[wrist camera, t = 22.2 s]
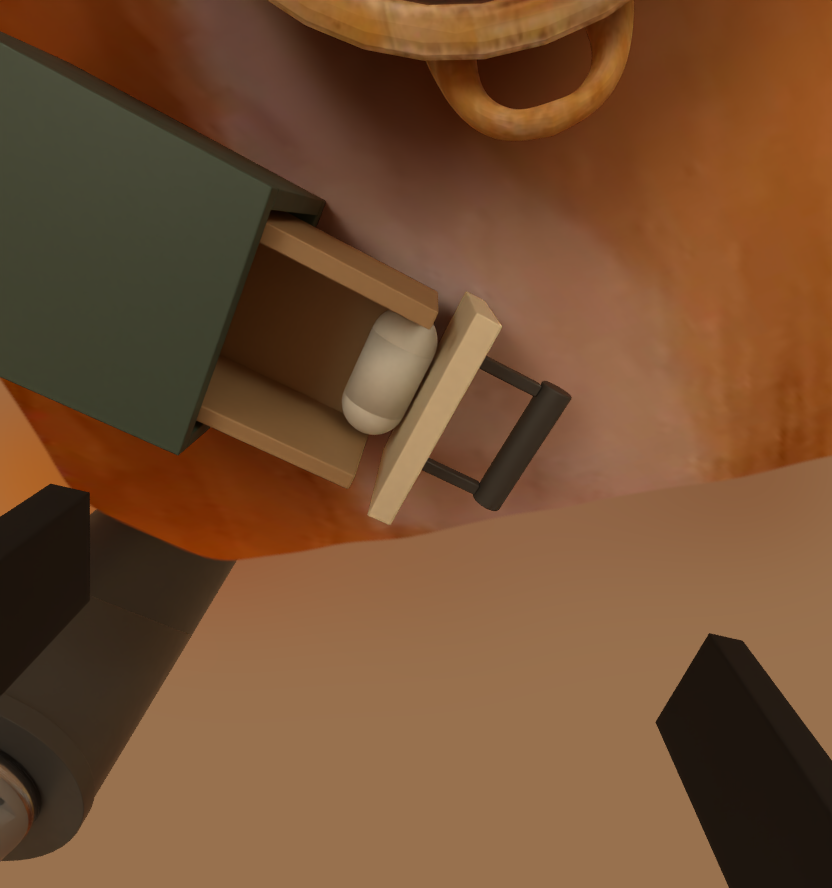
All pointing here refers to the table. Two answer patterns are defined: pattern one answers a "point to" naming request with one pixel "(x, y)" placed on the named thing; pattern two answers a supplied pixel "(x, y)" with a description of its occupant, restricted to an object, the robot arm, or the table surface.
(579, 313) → the table surface
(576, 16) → the ceramic bowl
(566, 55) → the table surface
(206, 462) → the table surface
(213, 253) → the cabinet
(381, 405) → the capsule
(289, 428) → the drawer
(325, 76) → the table surface
